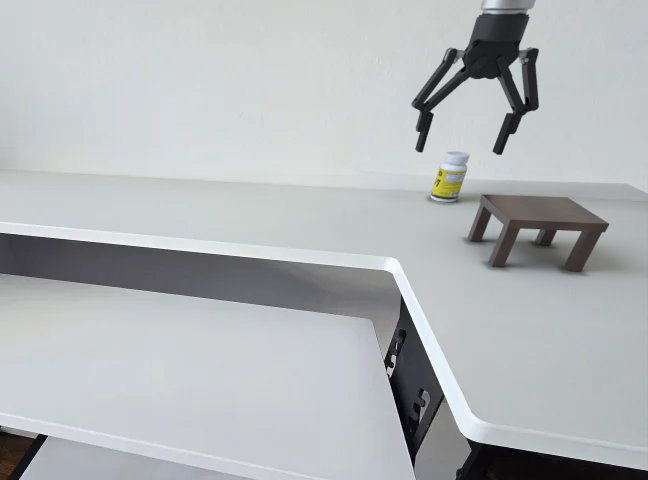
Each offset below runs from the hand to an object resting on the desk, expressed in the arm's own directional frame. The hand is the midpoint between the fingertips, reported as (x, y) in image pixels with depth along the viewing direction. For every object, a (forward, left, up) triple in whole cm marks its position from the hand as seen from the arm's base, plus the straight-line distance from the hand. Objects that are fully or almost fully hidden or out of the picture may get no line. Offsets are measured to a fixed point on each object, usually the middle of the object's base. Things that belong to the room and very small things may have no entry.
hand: (457, 152), depth 93 cm
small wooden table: (-4, +28, -9) cm, 29 cm away
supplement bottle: (0, 0, -9) cm, 9 cm away
